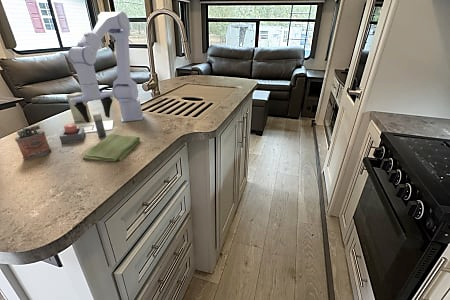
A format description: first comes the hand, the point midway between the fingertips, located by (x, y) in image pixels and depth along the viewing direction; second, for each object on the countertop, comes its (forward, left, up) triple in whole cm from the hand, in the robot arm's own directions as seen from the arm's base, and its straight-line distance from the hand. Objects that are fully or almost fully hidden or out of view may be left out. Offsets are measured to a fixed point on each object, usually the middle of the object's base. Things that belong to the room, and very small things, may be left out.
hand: (97, 119), depth 91 cm
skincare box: (+10, -25, -7) cm, 28 cm away
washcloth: (-5, +15, -8) cm, 17 cm away
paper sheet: (+5, -12, -7) cm, 15 cm away
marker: (0, 0, -7) cm, 7 cm away
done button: (+10, -1, -4) cm, 11 cm away
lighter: (+19, +10, -7) cm, 23 cm away
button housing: (+10, -1, -7) cm, 12 cm away
